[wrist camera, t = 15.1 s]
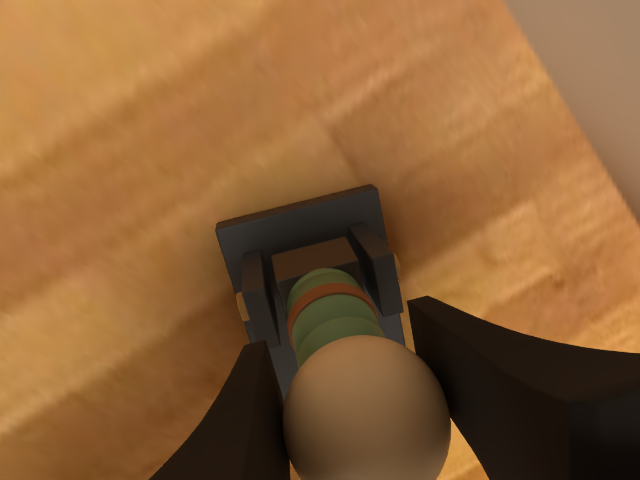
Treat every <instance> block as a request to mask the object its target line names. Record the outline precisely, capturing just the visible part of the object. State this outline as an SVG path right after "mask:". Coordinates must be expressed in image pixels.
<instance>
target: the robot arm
mask: <svg viewBox="0 0 640 480" xmlns="http://www.w3.org/2000/svg"><path fill="white" fill-rule="evenodd" d="M407 304H408V310H409V316H410V322H411V328H412V334H413V340H414V346H415V352H416V355H417V356H419V357H420V358H421V359H422V360H423V361H424V362H425V363H426V364H427V366H428V367H429V368H430V369H431V370H432V372H433V373H434V375H435V376H436V378H437V380H438V381H439V383H440V385H441V387H442V389H443V392H444V394H445V397H446V400H447V403H448V407H449V413H450V418H451V419H452V420H453V422H454V423H455V425H456V426H457V428H458V429H459V431H460V432H461V434H462V435H463V437H464V438H465V440H466V441H467V443H468V444H469V445H470V447H471V448H472V450H473V452H474V453H475V455H476V456H477V458H478V460H479V461H480V463H481V465H482V466H483V468H484V470H485V472H486V474H487V476H488V478H489V479H490V480H640V353H627V352H618V351H608V350H600V349H593V348H586V347H580V346H574V345H569V344H563V343H558V342H554V341H549V340H545V339H541V338H537V337H534V336H530V335H526V334H522V333H519V332H516V331H513V330H510V329H507V328H504V327H501V326H498V325H495V324H493V323H490V322H487V321H485V320H482V319H480V318H477V317H475V316H473V315H470V314H468V313H466V312H463V311H461V310H459V309H457V308H454V307H452V306H450V305H448V304H446V303H443V302H441V301H439V300H437V299H434V298H432V297H429V296H424V297H420V298H416V299H413V300H409V301H407ZM283 410H284V400H283V396H282V392H281V389H280V386H279V382H278V379H277V376H276V372H275V369H274V366H273V362H272V359H271V356H270V352H269V349H268V346H267V342H266V340H262V341H258V342H255V343H251V344H247V345H245V346H244V347H243V349H242V350H241V353H240V355H239V357H238V359H237V361H236V363H235V365H234V367H233V369H232V371H231V373H230V375H229V377H228V378H227V380H226V382H225V384H224V386H223V387H222V389H221V391H220V393H219V395H218V396H217V398H216V399H215V401H214V402H213V404H212V406H211V407H210V409H209V410H208V412H207V413H206V415H205V416H204V418H203V419H202V421H201V422H200V423H199V425H198V426H197V427H196V429H195V430H194V431H193V432H192V434H191V435H190V436H189V437H188V439H187V440H186V441H185V442H184V443H183V445H182V446H181V447H180V448H179V449H178V450H177V451H176V452H175V453H174V454H173V455H172V456H171V457H170V458H169V460H168V461H167V462H166V463H165V464H164V465H163V466H162V467H161V468H160V469H159V470H158V471H157V472H156V473H155V474H154V475H153V476H152V477H151V478H150V479H149V480H290V459H289V455H288V453H287V449H286V445H285V441H284V436H283Z"/></svg>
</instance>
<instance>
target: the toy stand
mask: <svg viewBox="0 0 640 480" xmlns="http://www.w3.org/2000/svg"><path fill="white" fill-rule="evenodd" d="M215 232H216V235H217V238H218V241H219V244H220V247H221V251H222V254H223V257H224V260H225V263H226V267H227V270H228V273H229V276H230V279H231V283H232V286H233V289H234V292H235V295H236V300H237V305H238V309H239V313H240V316H241V318H242V320H243V321H244V324H245V327H246V330H247V334H248V337H249V340H250V343H255V342H258V341H262V340H266V342H267V346H268V349H269V352H270V356H271V359H272V362H273V366H274V369H275V372H276V376H277V379H278V382H279V386H280V389H281V392H282V396H283V400H284V402H285V399H286V396H287V392H288V389H289V386H290V384H291V382H292V380H293V378H294V376H295V374H296V373H297V371H298V370H299V368H298V363H297V358H296V353H295V351H294V349H293V348H292V346H291V343H290V339H289V334H288V329H287V320H286V316H285V312H284V309H283V305H282V302H281V298H280V295H279V291H278V288H277V284H276V280H275V275H274V269H273V264H272V258H271V256H272V255H275V254H279V253H283V252H287V251H290V250H294V249H298V248H302V247H306V246H310V245H314V244H317V243H321V242H325V241H329V240H333V239H337V238H340V237H346V238H347V240H348V242H349V244H350V245H351V247H352V249H353V251H354V253H355V255H356V257H357V258H358V260H359V266H360V271H361V277H362V283H363V288H364V293H366V295H367V296H368V297H369V298H370V300H371V302H372V304H373V306H374V308H375V310H376V312H377V315H378V323H379V325H380V327H381V329H382V331H383V333H384V335H385V337H386V338H387V339H389V340H392V341H395V342H397V343H399V344H401V345H403V346H405V340H404V335H403V329H402V323H401V318H400V313H403V311H404V310H403V305H402V299H401V293H400V287H399V282H398V280H400V279H401V268H400V264H399V261H398V258H397V256H396V255H395V253H394V252H392V251H391V250H390V249H389V248H388V244H387V238H386V233H385V227H384V221H383V216H382V210H381V205H380V199H379V193H378V189H377V188H376V187H375V186H373V185H371V184H370V185H366V186H362V187H358V188H354V189H350V190H346V191H342V192H338V193H334V194H330V195H326V196H322V197H318V198H314V199H310V200H306V201H302V202H298V203H295V204H291V205H287V206H283V207H279V208H275V209H271V210H267V211H263V212H259V213H255V214H251V215H247V216H243V217H239V218H235V219H231V220H227V221H223V222H219V223H217V225H216V229H215ZM405 347H406V346H405Z"/></svg>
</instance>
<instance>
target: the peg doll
mask: <svg viewBox="0 0 640 480" xmlns="http://www.w3.org/2000/svg"><path fill="white" fill-rule="evenodd" d="M271 258H272V264H273V269H274V275H275V280H276V284H277V288H278V291H279V295H280V298H281V302H282V305H283V309H284V312H285V316H286V320H287V329H288V334H289V339H290V343H291V346H292V348H293V349H294V351H295V353H296V358H297V363H298V368H299V370H298V371H297V373H296V374H295V376H294V378H293V380H292V382H291V384H290V386H289V389H288V392H287V396H286V399H285V402H284V410H283V436H284V441H285V445H286V449H287V453H288V455H289V458H290V461H291V463H292V465H293V467H294V469H295V471H296V472H297V474H298V476H299V477H300V478H301V480H436V479H437V477H438V476H439V474H440V472H441V470H442V468H443V466H444V463H445V461H446V458H447V455H448V450H449V445H450V440H451V420H450V413H449V407H448V403H447V400H446V397H445V394H444V392H443V389H442V387H441V385H440V383H439V381H438V380H437V378H436V376H435V375H434V373H433V372H432V370H431V369H430V368H429V367H428V366H427V364H426V363H425V362H424V361H423V360H422V359H421V358H420V357H419V356H417V355H416V354H415V353H414V352H412V351H411V350H409V349H408V348H406V347H405V346H403V345H401V344H399V343H397V342H395V341H392V340H389V339H387V338H386V337H385V335H384V333H383V331H382V329H381V327H380V325H379V323H378V315H377V312H376V310H375V308H374V306H373V304H372V302H371V300H370V298H369V297H368V296H367V295H366V293H364V288H363V283H362V277H361V271H360V266H359V260H358V258H357V257H356V255H355V253H354V251H353V249H352V247H351V245H350V244H349V242H348V240H347V238H346V237H340V238H337V239H333V240H329V241H325V242H321V243H317V244H314V245H310V246H306V247H302V248H298V249H294V250H290V251H287V252H283V253H279V254H275V255H272V256H271Z"/></svg>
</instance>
